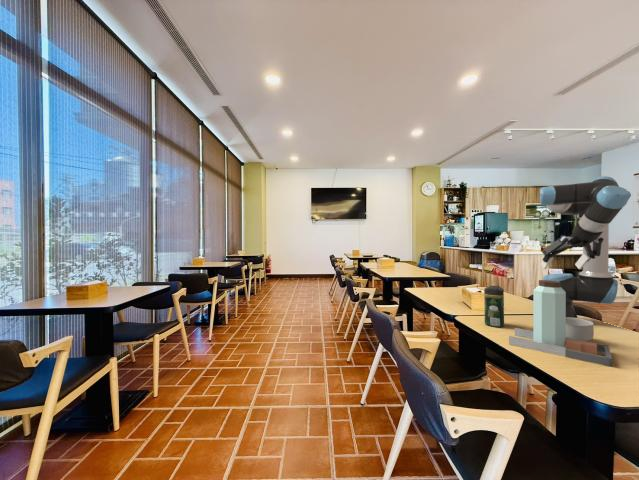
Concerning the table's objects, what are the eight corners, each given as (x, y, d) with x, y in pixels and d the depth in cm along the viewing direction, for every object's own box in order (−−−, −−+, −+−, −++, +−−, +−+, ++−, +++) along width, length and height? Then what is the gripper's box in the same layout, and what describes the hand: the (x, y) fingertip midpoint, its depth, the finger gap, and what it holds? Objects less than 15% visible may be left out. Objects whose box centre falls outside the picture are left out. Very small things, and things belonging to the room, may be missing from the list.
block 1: (580, 352, 100) (580, 341, 100) (581, 355, 97) (580, 344, 97) (565, 349, 103) (565, 338, 103) (565, 352, 100) (565, 341, 100)
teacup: (601, 346, 106) (601, 325, 106) (568, 344, 108) (568, 323, 108) (575, 334, 119) (575, 315, 119) (547, 332, 121) (546, 314, 121)
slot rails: (566, 344, 107) (566, 336, 107) (565, 356, 96) (565, 347, 96) (515, 334, 118) (515, 327, 118) (508, 344, 108) (508, 336, 108)
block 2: (596, 354, 98) (596, 343, 98) (596, 358, 95) (596, 346, 95) (580, 351, 101) (580, 340, 101) (581, 354, 98) (581, 343, 98)
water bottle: (527, 344, 108) (527, 280, 108) (541, 340, 112) (541, 278, 112) (557, 353, 98) (557, 284, 98) (572, 349, 103) (572, 282, 103)
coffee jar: (486, 320, 139) (485, 284, 139) (504, 323, 134) (504, 285, 134) (482, 325, 131) (482, 286, 131) (502, 328, 126) (502, 288, 126)
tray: (608, 352, 100) (608, 345, 100) (612, 366, 88) (612, 359, 88) (566, 344, 107) (566, 337, 107) (565, 356, 96) (565, 349, 96)
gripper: (560, 233, 99) (533, 273, 113) (635, 233, 97) (598, 273, 111) (548, 220, 105) (524, 260, 119) (619, 220, 103) (586, 260, 117)
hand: (560, 266), depth 115 cm, fingers open, 13 cm apart
